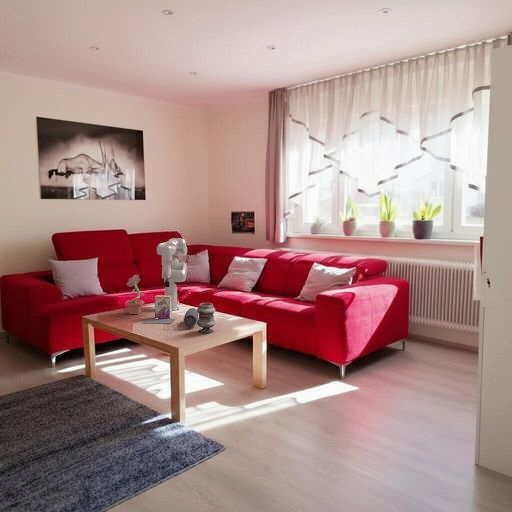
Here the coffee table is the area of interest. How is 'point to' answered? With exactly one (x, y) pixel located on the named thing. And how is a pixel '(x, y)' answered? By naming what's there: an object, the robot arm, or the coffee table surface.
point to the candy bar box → (163, 307)
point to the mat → (159, 321)
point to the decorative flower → (135, 304)
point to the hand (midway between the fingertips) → (167, 287)
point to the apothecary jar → (206, 317)
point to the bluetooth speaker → (191, 317)
